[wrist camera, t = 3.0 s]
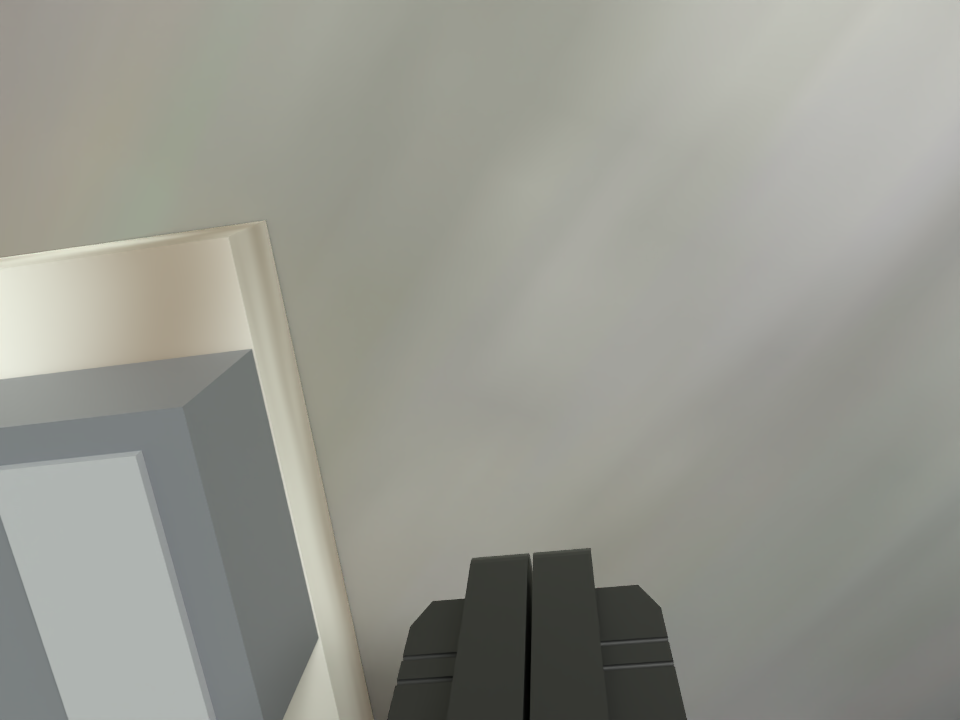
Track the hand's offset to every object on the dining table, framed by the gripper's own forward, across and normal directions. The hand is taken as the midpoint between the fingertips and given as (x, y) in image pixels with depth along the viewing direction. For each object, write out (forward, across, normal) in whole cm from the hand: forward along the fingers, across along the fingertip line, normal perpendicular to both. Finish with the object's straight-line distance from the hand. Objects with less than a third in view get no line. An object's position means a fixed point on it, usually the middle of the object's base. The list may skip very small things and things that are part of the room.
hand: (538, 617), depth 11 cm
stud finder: (+5, +9, 0) cm, 10 cm away
